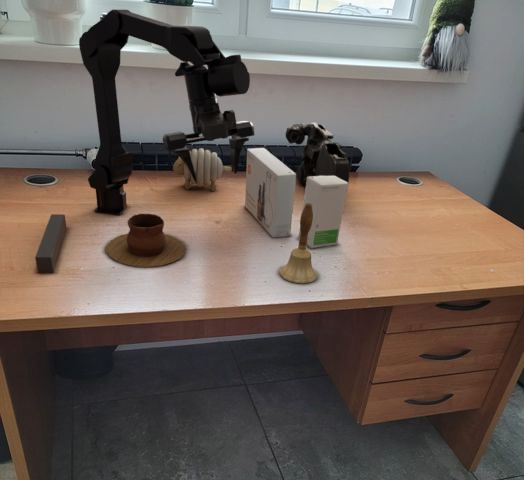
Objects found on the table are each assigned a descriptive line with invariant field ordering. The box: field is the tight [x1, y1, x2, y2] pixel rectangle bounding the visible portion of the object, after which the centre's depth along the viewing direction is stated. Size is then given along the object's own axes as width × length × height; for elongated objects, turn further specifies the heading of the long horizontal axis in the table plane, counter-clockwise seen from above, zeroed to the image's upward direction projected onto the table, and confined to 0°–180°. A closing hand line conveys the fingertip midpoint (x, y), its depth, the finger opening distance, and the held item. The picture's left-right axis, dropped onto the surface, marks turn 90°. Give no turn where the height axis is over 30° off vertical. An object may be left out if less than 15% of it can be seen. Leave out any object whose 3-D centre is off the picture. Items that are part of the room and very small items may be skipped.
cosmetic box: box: [297, 176, 349, 249], centre depth 124 cm, size 8×7×16 cm
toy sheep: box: [172, 147, 233, 192], centre depth 149 cm, size 11×17×11 cm, turn 99°
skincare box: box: [244, 147, 297, 238], centre depth 132 cm, size 21×5×16 cm, turn 22°
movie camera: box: [285, 122, 350, 187], centre depth 153 cm, size 31×18×18 cm, turn 13°
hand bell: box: [279, 203, 318, 284], centre depth 109 cm, size 8×8×16 cm
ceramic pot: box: [104, 213, 187, 268], centre depth 115 cm, size 18×18×7 cm
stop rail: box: [34, 213, 68, 274], centre depth 112 cm, size 3×22×4 cm, turn 10°
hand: (215, 177), depth 112 cm, fingers open, 9 cm apart
